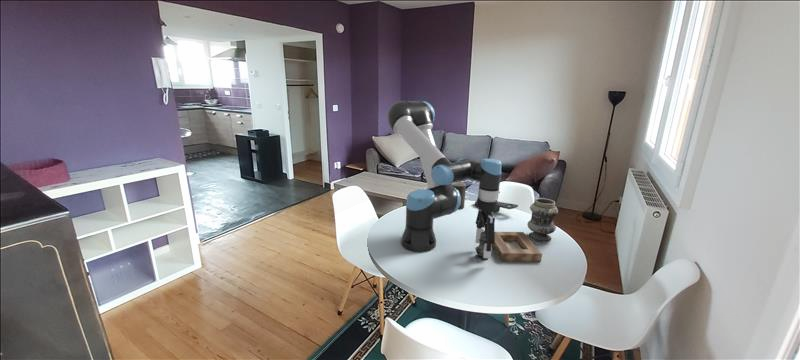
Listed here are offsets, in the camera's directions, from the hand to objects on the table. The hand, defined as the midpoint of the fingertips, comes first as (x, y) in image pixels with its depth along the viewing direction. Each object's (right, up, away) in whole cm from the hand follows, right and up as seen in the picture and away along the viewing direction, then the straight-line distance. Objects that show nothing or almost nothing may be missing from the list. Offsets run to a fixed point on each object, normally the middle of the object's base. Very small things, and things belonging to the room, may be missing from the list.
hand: (482, 249), depth 133 cm
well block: (+15, -1, +8) cm, 17 cm away
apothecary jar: (+31, +1, +20) cm, 37 cm away
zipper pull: (+20, +11, +52) cm, 56 cm away
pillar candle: (-1, +13, +57) cm, 58 cm away
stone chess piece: (0, -3, +1) cm, 3 cm away
